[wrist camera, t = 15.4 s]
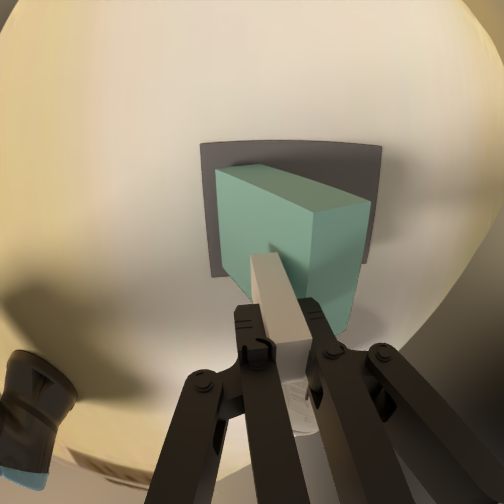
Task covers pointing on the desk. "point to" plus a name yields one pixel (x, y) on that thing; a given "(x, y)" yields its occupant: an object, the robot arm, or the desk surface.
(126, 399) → the desk surface
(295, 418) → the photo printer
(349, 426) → the robot arm
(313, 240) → the block
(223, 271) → the mat
